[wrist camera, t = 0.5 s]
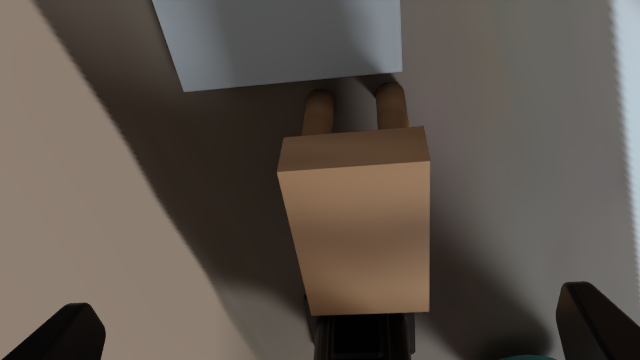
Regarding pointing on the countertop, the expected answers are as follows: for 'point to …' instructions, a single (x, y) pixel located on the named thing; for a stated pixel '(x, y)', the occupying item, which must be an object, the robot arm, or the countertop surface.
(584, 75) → the countertop surface
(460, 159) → the countertop surface
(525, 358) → the beverage bottle
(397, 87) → the block with dowel legs
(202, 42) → the board
